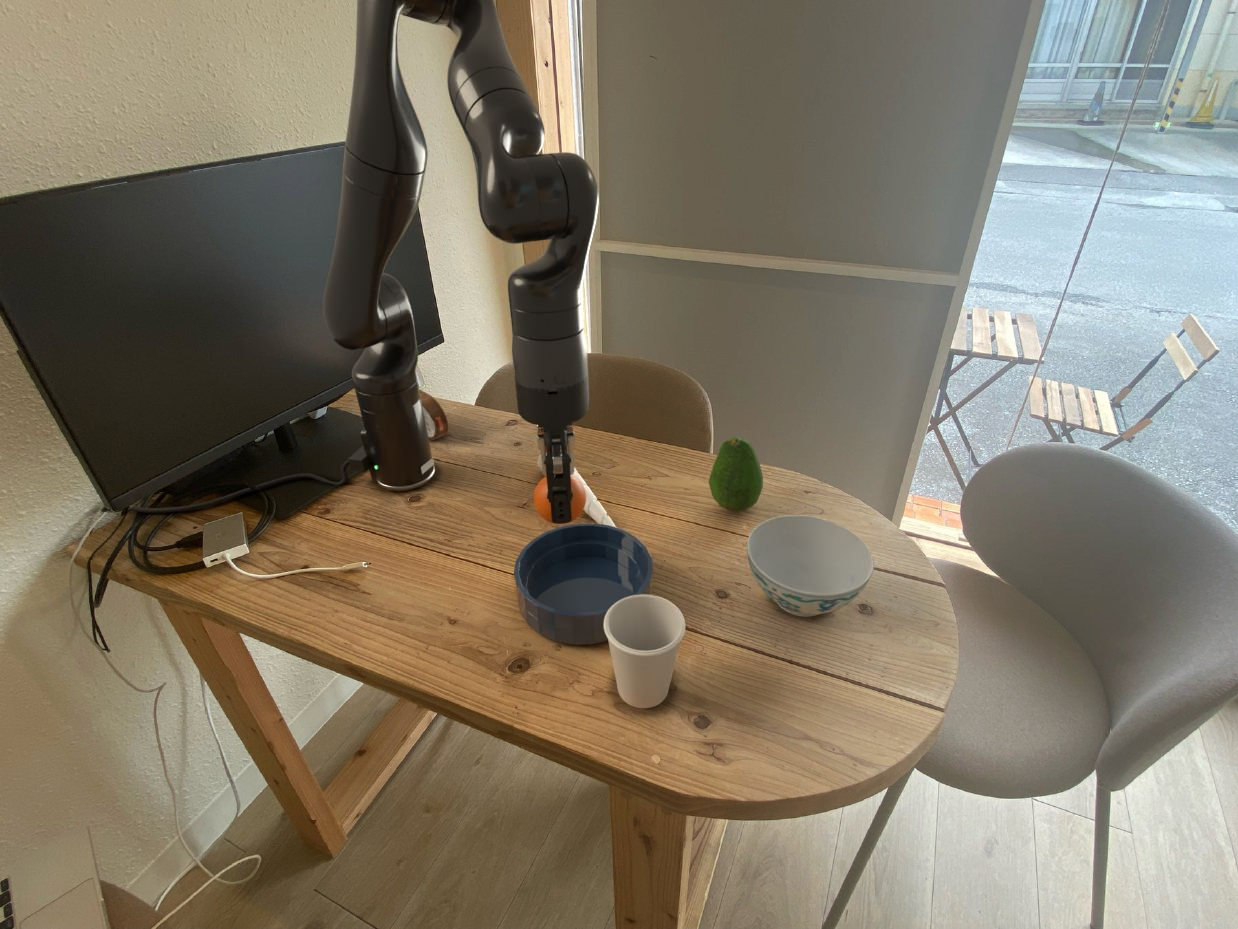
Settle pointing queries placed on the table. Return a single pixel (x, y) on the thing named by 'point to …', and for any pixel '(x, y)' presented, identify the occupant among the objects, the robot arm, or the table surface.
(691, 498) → the table surface
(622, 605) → the dixie cup
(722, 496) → the avocado
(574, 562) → the bowl
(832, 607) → the chinaware
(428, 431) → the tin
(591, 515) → the unicorn horn
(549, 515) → the mandarin
